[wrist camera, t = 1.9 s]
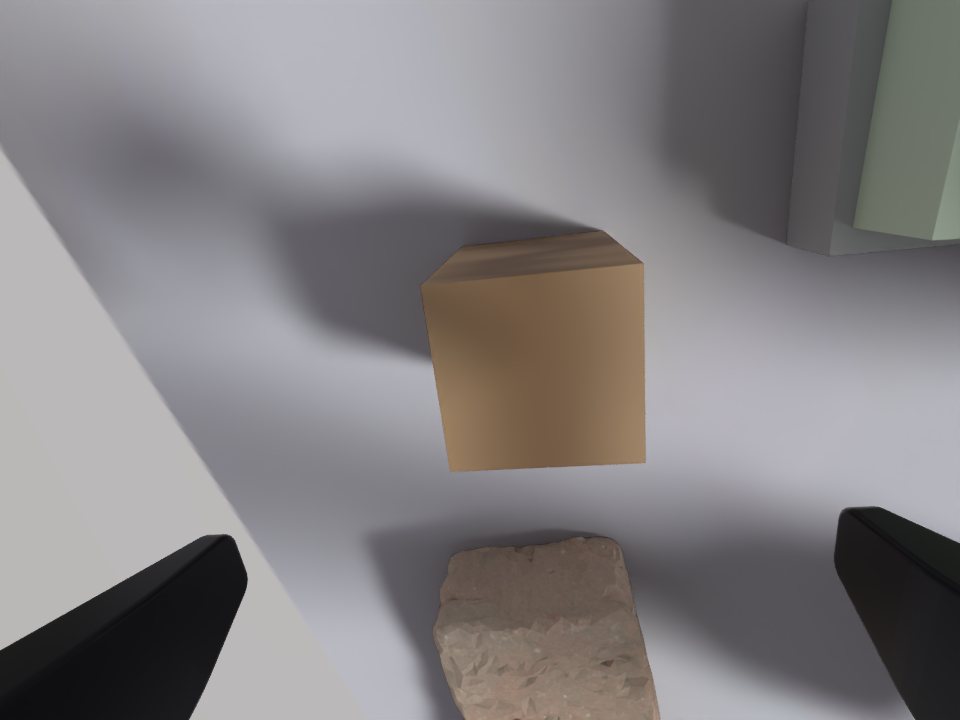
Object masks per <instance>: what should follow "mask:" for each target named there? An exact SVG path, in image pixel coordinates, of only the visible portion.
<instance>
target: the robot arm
mask: <svg viewBox="0 0 960 720" xmlns="http://www.w3.org/2000/svg"><path fill="white" fill-rule="evenodd" d="M834 563H835V568H836V571H837V574H838V576H839V578H840V580H841V582H842V584H843V586H844V588H845V590H846V592H847V594H848V596H849V598H850V599H851V601H852V603H853V605H854V607H855V609H856V611H857V613H858V615H859V617H860V619H861V621H862V623H863V625H864V627H865V629H866V631H867V633H868V635H869V637H870V639H871V640H872V642H873V644H874V646H875V648H876V650H877V652H878V654H879V656H880V658H881V660H882V662H883V664H884V666H885V668H886V670H887V672H888V674H889V675H890V677H891V679H892V681H893V683H894V685H895V686H896V688H897V690H898V692H899V694H900V695H901V697H902V699H903V700H904V702H905V704H906V705H907V707H908V708H909V710H910V712H911V713H912V715H913V717H914V718H915V720H960V543H958V542H956V541H953V540H951V539H949V538H947V537H945V536H942V535H940V534H938V533H936V532H934V531H931V530H929V529H927V528H925V527H923V526H920V525H918V524H916V523H914V522H912V521H909V520H907V519H905V518H903V517H901V516H898V515H896V514H894V513H892V512H890V511H887V510H885V509H883V508H880V507H875V506H869V507H848V508H845V509H843V510H842V511H841V513H840V515H839V520H838V528H837V535H836V543H835V551H834ZM247 581H248V578H247V572H246V569H245V566H244V564H243V561H242V558H241V555H240V553H239V550H238V547H237V545H236V542H235V540H234V539H233V538H232V537H231V536H230V535H226V534H222V535H206V536H203V537H201V538H199V539H197V540H195V541H193V542H192V543H190V544H188V545H186V546H185V547H183V548H181V549H179V550H178V551H176V552H174V553H172V554H170V555H169V556H167V557H165V558H163V559H161V560H160V561H158V562H156V563H154V564H153V565H151V566H149V567H147V568H145V569H144V570H142V571H140V572H139V573H137V574H135V575H133V576H131V577H130V578H128V579H126V580H124V581H122V582H121V583H119V584H117V585H115V586H114V587H112V588H110V589H109V590H106V591H105V592H103V593H101V594H100V595H98V596H96V597H94V598H92V599H91V600H89V601H87V602H85V603H83V604H82V605H80V606H78V607H76V608H75V609H73V610H71V611H69V612H68V613H66V614H64V615H62V616H60V617H59V618H57V619H55V620H53V621H52V622H50V623H48V624H46V625H45V626H43V627H41V628H39V629H38V630H36V631H34V632H32V633H30V634H28V635H27V636H25V637H23V638H21V639H20V640H18V641H16V642H14V643H13V644H11V645H9V646H7V647H5V648H4V649H2V650H0V720H189V719H190V717H191V715H192V713H193V711H194V709H195V707H196V705H197V703H198V701H199V699H200V697H201V695H202V693H203V691H204V689H205V687H206V684H207V682H208V680H209V678H210V676H211V673H212V671H213V669H214V666H215V664H216V661H217V659H218V656H219V654H220V651H221V649H222V647H223V645H224V642H225V640H226V637H227V635H228V632H229V630H230V628H231V625H232V623H233V620H234V618H235V616H236V613H237V611H238V608H239V606H240V604H241V601H242V599H243V596H244V594H245V591H246V588H247Z"/></svg>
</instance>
